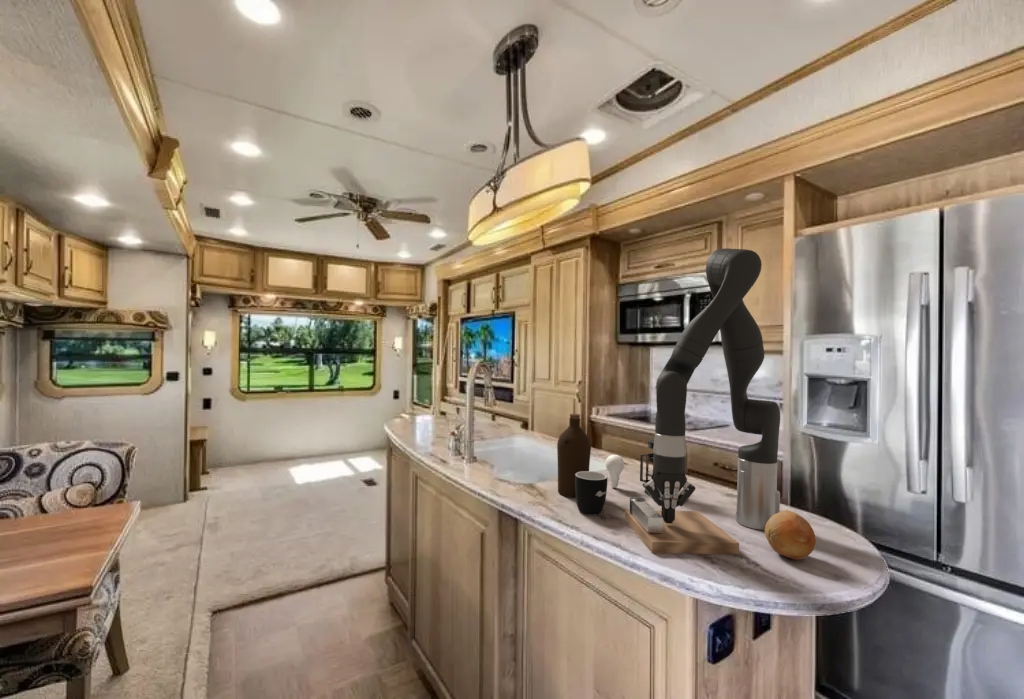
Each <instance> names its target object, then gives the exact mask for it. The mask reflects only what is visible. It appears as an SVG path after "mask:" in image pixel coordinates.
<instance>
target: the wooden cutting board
mask: <svg viewBox="0 0 1024 699" xmlns="http://www.w3.org/2000/svg"><path fill="white" fill-rule="evenodd" d="M629 510H630V509H625V510H624V520H625V522H626V523H627V524H628V526H629V527H630V528H631V529H632V530H633V532H634V533H635V534H636V535H637V537H639V539H640V540H641V542H642V543H643V544H644V546H645V547H646V548H647V549H648V550H649V551H651V552H650V553H651V554H680V553H693V554H695V555H698V554H699V555H700V554H701V555H702V554H703V555H705V554H706V555H709V554H711V555H739V554H740V542H739V541H737V540H736V539H734V538H733V537H732V536H731V535H730V534H728V533H727V532H726V531H725V530H723V529H722V528H720V527H719V526H718V525H717V524H715V523H714V522H713V521H711V520H710V519H709V518H707V516H704V515H703V514H702V513H700V512H699V511H698V510H675V520H674V521H673V523H665V522H664V520H663V533H648V532H647V531H646V530H645V528H644V527H643V526H642V525H641V524H640V523H639V521H638V520H637V519H636V518H635V517H634V516H633V514H631V513H630V512H629ZM656 511H657V512H658V513H659V514H660V515H662V514H661V512H662V510H656ZM693 554H692V555H693Z"/></svg>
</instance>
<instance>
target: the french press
mask: <svg viewBox="0 0 1024 699" xmlns="http://www.w3.org/2000/svg"><path fill="white" fill-rule="evenodd" d="M646 442H647V448H648V449H651V450H653V447H654V438H648V439H646ZM644 457H645V479H643V476H644ZM653 461H654V452H651V453H641V454H640V460H639V462H640V464H639V465H640V466H639V467H640V468H639V470H640V471H639V482H642V483H647V482H649V481H650V480H651V479H649V477H652V475H653V469H652V470H649V464H650V463H653ZM649 462H650V463H649ZM654 487H655V489H654V490H653V491H654V492H655V493H656V495H657V496H658V497H659V499H661V496H660V491H659V490H658V489H657V487H656V486H655V484H654ZM644 493H645V495H647V496H650V495H649V494H648V492H647V491H646V490H645V489H644ZM650 497H651V496H650Z"/></svg>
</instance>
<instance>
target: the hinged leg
mask: <svg viewBox="0 0 1024 699" xmlns="http://www.w3.org/2000/svg"><path fill="white" fill-rule="evenodd" d="M628 510H629V512H630V513H631V514H633V516H634V517H635V518H636V519H637V520H638V521H639V523H640V524H641V525H642V526H643V527H644V528H645V530H646V531H647V532H648V533H663V517H662V516H661V515H660V514H659V513H658V512H657V511H658V510H655V508H654V507H653V506H652V505H650V504H649V503H648V501H647V500H646V499H645V498H644V497H640V496H631V497H629V509H628Z"/></svg>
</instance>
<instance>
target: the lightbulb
mask: <svg viewBox="0 0 1024 699" xmlns="http://www.w3.org/2000/svg"><path fill="white" fill-rule="evenodd" d="M605 468H606V470H607V472H608V475H609V482H610V483H609V484H610V485H609V486H610V487H612V488H613V489H616V488H618V486H619V481H620V476H621V474H622V472H623V470H624V468H625V461H624V459H623V457H622V456H620V455H617V454H611V455H609V456H608V457H607V458H606V459H605Z"/></svg>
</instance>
